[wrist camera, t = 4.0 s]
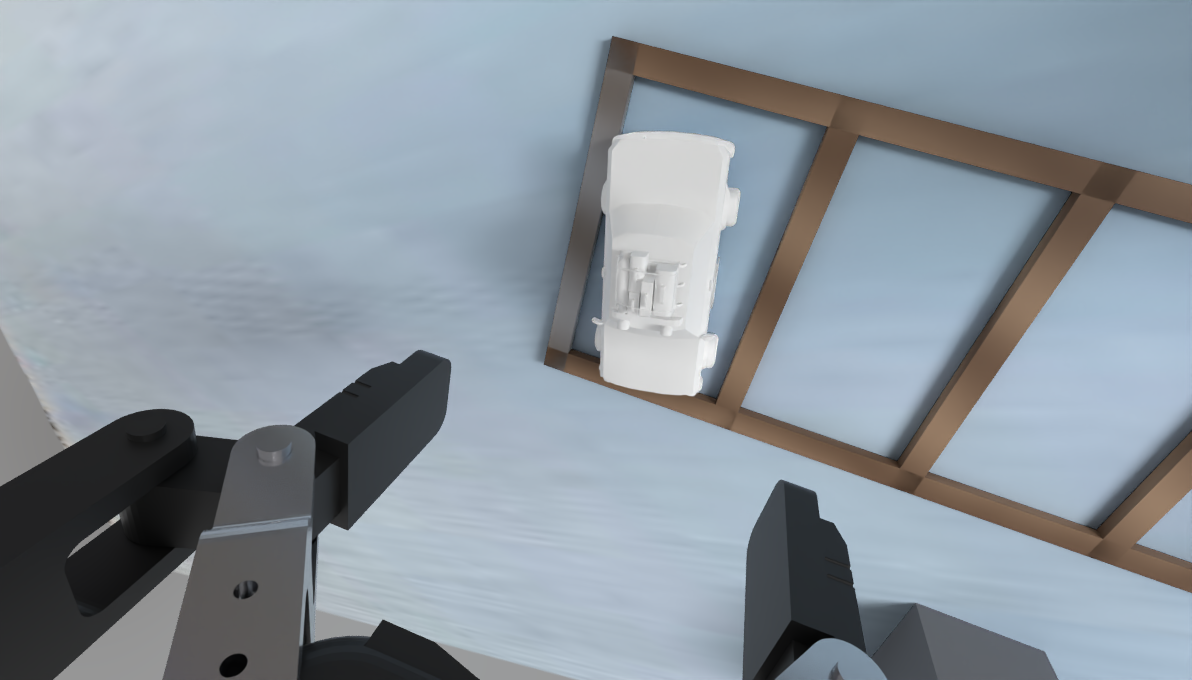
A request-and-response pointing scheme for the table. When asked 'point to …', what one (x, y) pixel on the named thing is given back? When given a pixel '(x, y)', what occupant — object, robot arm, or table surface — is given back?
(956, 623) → the die
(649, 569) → the table surface
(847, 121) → the wooden ladder frame
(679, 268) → the toy car
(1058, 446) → the table surface
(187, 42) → the table surface
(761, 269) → the table surface
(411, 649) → the robot arm
